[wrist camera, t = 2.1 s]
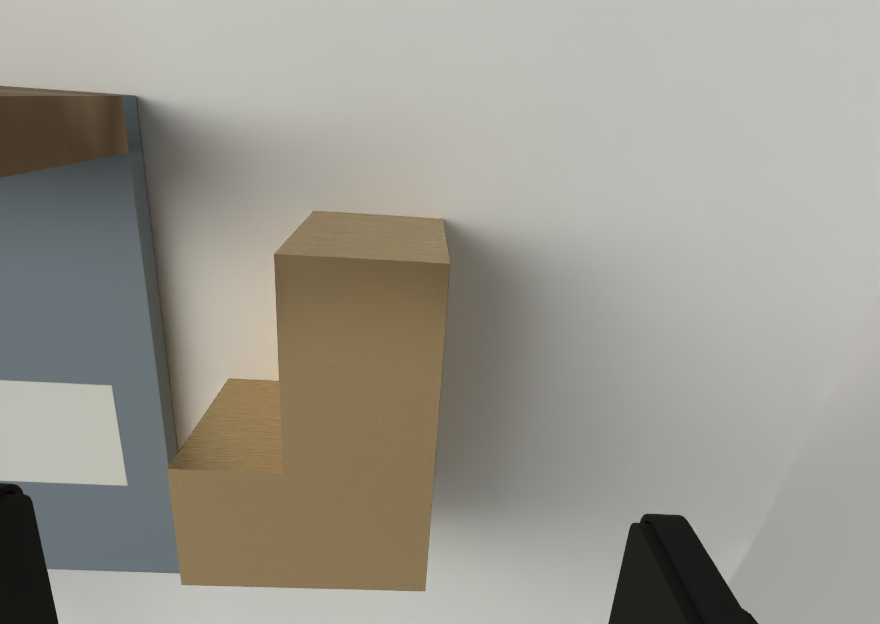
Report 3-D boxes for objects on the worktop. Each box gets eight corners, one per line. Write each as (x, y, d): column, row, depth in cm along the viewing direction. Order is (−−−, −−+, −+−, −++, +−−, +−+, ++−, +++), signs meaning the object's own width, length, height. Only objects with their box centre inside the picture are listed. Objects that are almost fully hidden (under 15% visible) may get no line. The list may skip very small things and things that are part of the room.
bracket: (214, 204, 17) (138, 245, 13) (442, 218, 18) (449, 263, 13) (235, 474, 21) (181, 584, 16) (424, 482, 21) (425, 591, 17)
